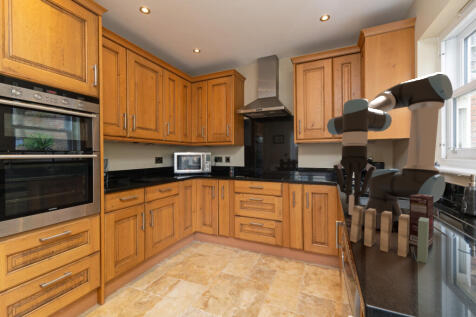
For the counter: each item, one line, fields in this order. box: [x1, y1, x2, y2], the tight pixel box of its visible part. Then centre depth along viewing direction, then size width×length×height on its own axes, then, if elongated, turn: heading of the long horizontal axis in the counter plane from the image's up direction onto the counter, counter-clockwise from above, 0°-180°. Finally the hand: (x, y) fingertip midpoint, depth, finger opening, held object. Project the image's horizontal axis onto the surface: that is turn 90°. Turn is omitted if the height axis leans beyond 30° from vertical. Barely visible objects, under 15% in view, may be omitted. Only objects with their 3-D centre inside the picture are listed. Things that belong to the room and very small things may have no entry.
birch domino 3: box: [379, 211, 393, 253], centre depth 61 cm, size 5×2×11 cm, turn 133°
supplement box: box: [408, 194, 434, 247], centre depth 67 cm, size 9×5×16 cm, turn 126°
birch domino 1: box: [349, 205, 365, 243], centre depth 67 cm, size 5×2×11 cm, turn 133°
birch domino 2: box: [363, 208, 376, 248], centre depth 64 cm, size 5×2×11 cm, turn 133°
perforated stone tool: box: [349, 210, 396, 230], centre depth 80 cm, size 15×5×7 cm, turn 58°
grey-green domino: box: [416, 217, 429, 264], centre depth 55 cm, size 5×2×11 cm, turn 133°
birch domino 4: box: [397, 213, 410, 258], centre depth 58 cm, size 5×2×11 cm, turn 133°
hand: (352, 214), depth 68 cm, fingers closed
